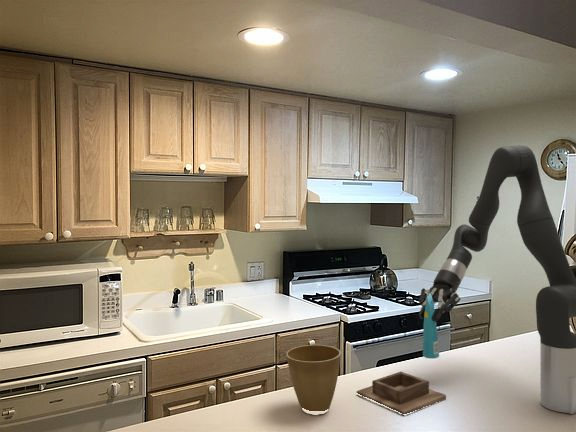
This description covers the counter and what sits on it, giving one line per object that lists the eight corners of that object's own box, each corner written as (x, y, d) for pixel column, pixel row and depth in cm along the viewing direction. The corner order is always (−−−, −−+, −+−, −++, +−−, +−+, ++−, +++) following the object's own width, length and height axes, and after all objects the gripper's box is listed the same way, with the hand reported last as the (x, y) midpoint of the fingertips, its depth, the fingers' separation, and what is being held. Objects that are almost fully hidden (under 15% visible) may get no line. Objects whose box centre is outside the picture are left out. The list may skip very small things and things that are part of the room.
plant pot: (327, 395, 142) (326, 341, 142) (351, 416, 128) (350, 356, 128) (279, 403, 137) (278, 348, 136) (299, 426, 123) (298, 364, 122)
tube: (423, 352, 155) (422, 293, 155) (439, 353, 153) (438, 293, 153) (421, 359, 148) (420, 297, 148) (438, 360, 146) (436, 298, 146)
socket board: (446, 399, 138) (446, 382, 138) (404, 416, 127) (404, 398, 127) (397, 380, 152) (397, 366, 152) (356, 395, 142) (356, 379, 142)
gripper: (426, 266, 161) (403, 308, 154) (464, 270, 149) (441, 315, 142) (437, 280, 164) (414, 322, 157) (474, 285, 152) (452, 330, 145)
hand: (427, 318), depth 150 cm, fingers closed on tube, 4 cm apart
